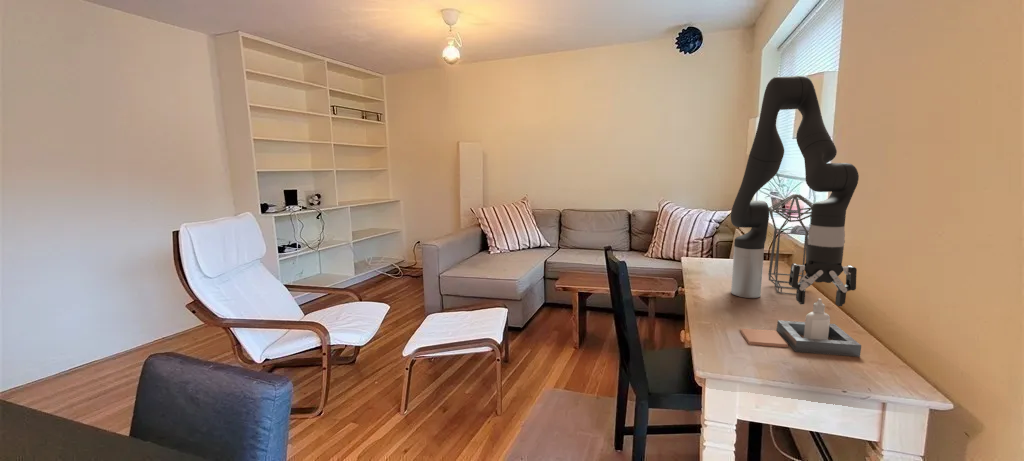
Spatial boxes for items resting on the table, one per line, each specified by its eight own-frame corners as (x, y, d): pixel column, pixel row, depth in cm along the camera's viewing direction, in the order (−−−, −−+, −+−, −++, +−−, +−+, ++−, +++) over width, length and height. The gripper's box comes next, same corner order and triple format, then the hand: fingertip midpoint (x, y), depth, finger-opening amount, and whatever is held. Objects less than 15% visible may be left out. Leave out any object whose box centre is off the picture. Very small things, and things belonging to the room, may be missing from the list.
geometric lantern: (765, 294, 155) (771, 195, 150) (763, 283, 169) (769, 192, 164) (819, 299, 148) (827, 195, 143) (812, 288, 161) (820, 193, 157)
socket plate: (776, 330, 124) (777, 320, 123) (833, 334, 120) (834, 323, 120) (795, 351, 110) (796, 340, 110) (859, 356, 107) (861, 345, 106)
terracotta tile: (740, 331, 124) (740, 328, 124) (775, 333, 122) (775, 330, 121) (748, 344, 115) (749, 341, 115) (787, 347, 113) (787, 344, 113)
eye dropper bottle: (830, 347, 112) (835, 302, 110) (804, 344, 114) (809, 300, 112) (825, 340, 116) (830, 297, 114) (800, 338, 118) (805, 295, 116)
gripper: (850, 241, 113) (844, 301, 115) (788, 239, 116) (783, 298, 119) (866, 246, 105) (859, 311, 108) (799, 244, 109) (794, 307, 111)
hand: (819, 304), depth 113 cm, fingers open, 8 cm apart
